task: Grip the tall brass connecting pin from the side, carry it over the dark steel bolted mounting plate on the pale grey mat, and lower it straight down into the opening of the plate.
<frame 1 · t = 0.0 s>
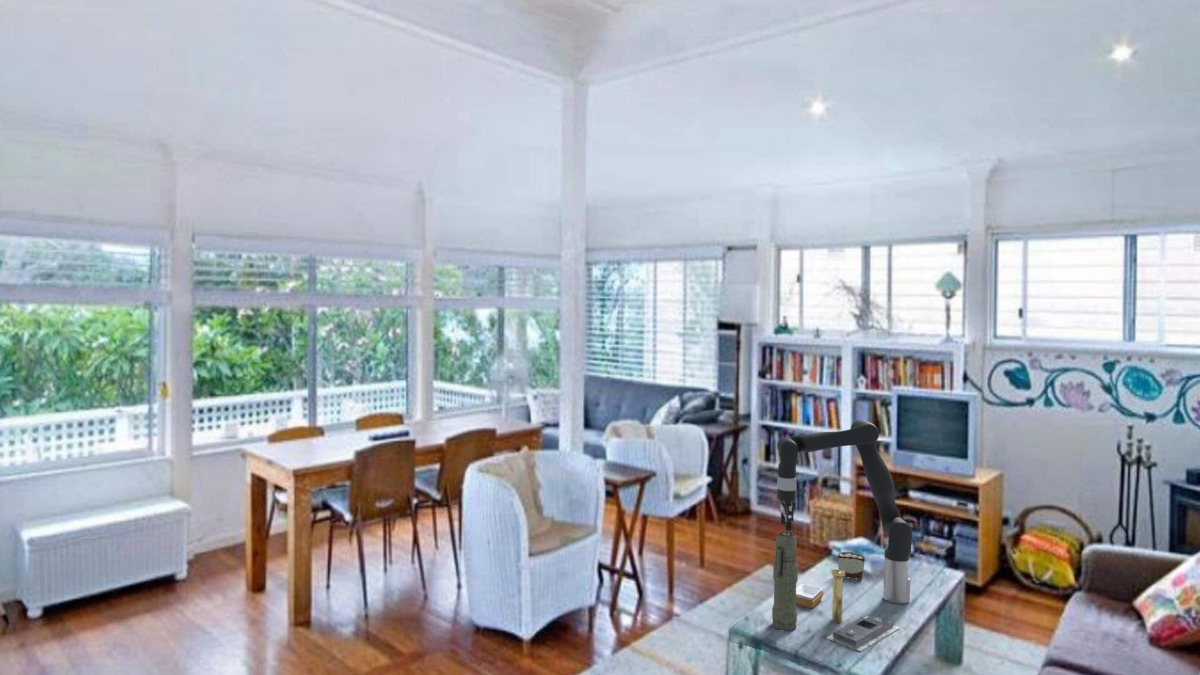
hand: (785, 527, 296), 29 cm above the table, tool pointing down, fingers open, 8 cm apart
food container: (850, 576, 322), on the table
thermos: (784, 626, 272), on the table
soap dish: (806, 603, 294), on the table
brass pin: (837, 621, 277), on the table
bolted mounting plate: (866, 632, 267), on the table
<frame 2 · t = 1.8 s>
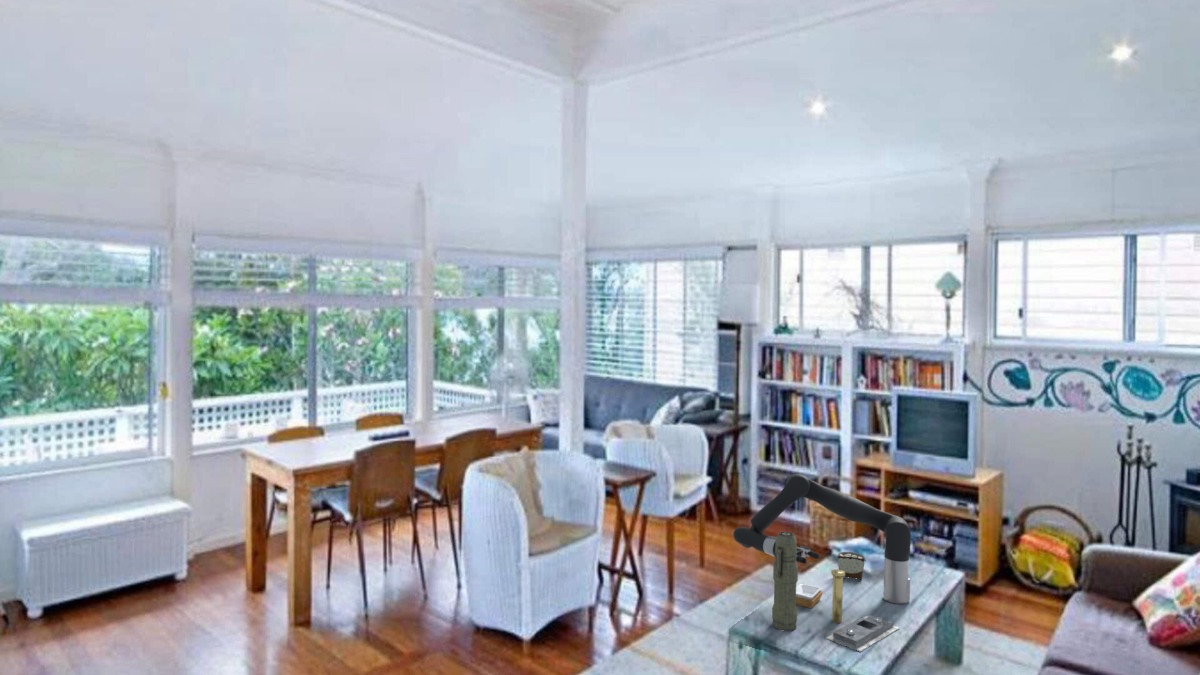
hand: (812, 558, 284), 21 cm above the table, tool horizontal, fingers open, 8 cm apart
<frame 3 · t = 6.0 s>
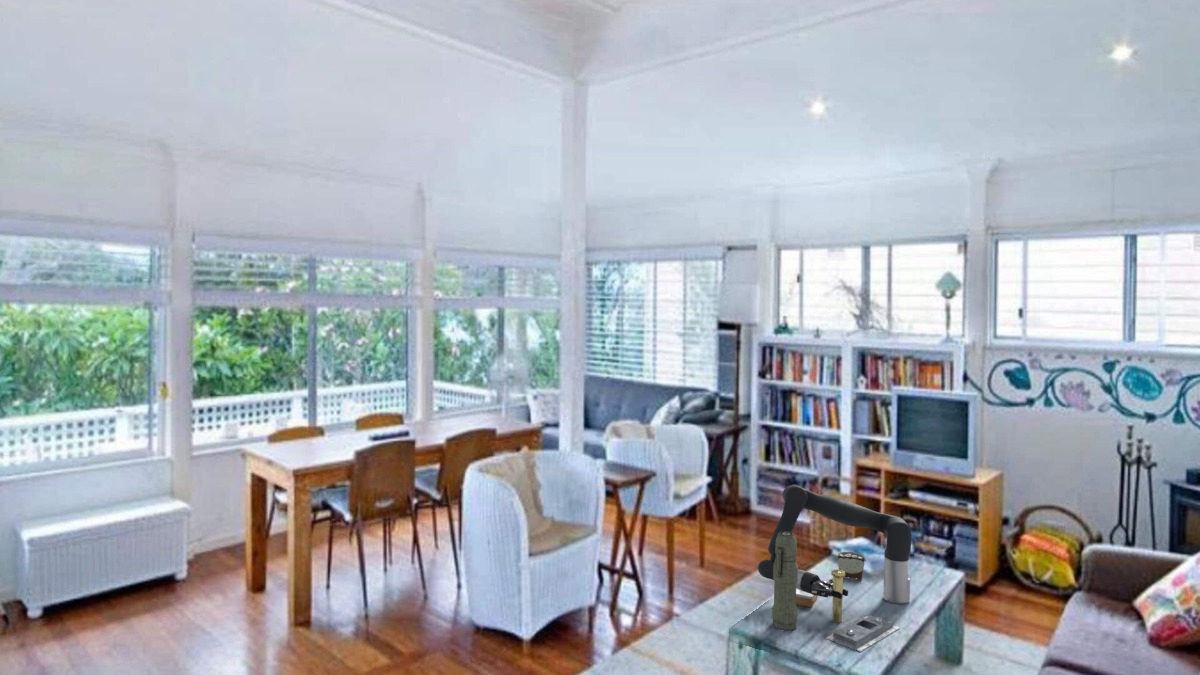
hand: (844, 594, 274), 11 cm above the table, tool horizontal, fingers closed on brass pin, 3 cm apart
brass pin: (837, 621, 277), on the table, touching gripper
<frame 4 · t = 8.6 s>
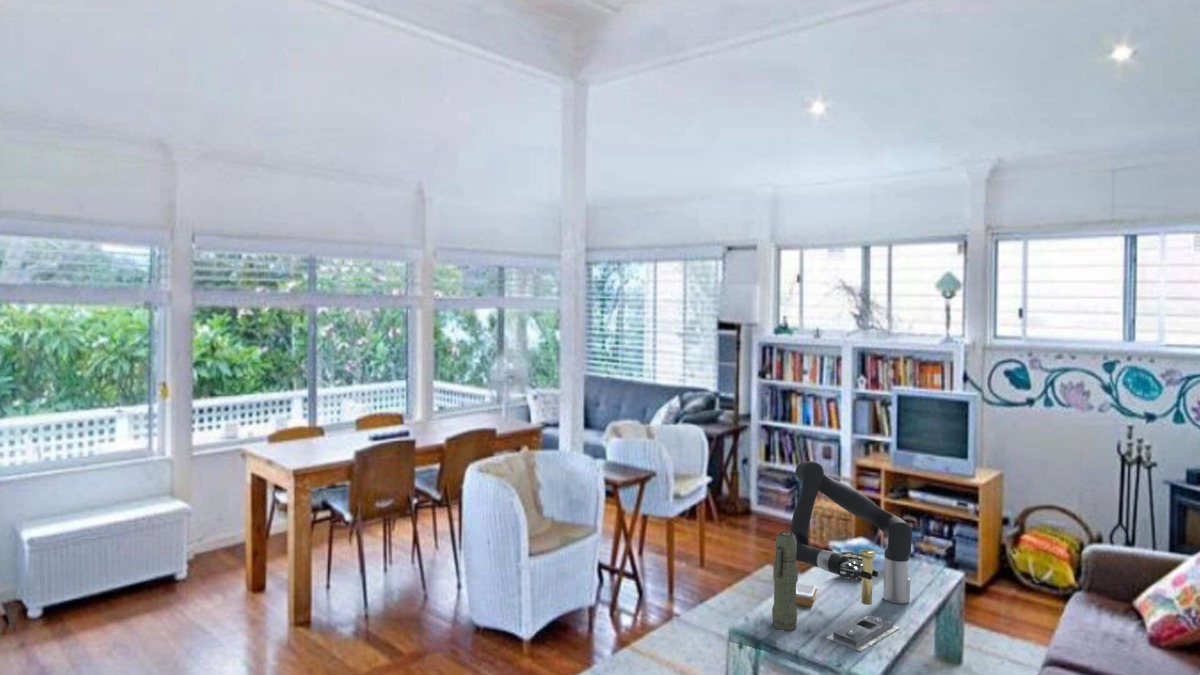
hand: (874, 575, 264), 22 cm above the table, tool horizontal, fingers closed on brass pin, 3 cm apart
brass pin: (866, 602, 267), point 11 cm above the table, touching gripper
when the fingers open (12 cm above the table, at t = 11.2 s): brass pin stays where it is, resting on bolted mounting plate.
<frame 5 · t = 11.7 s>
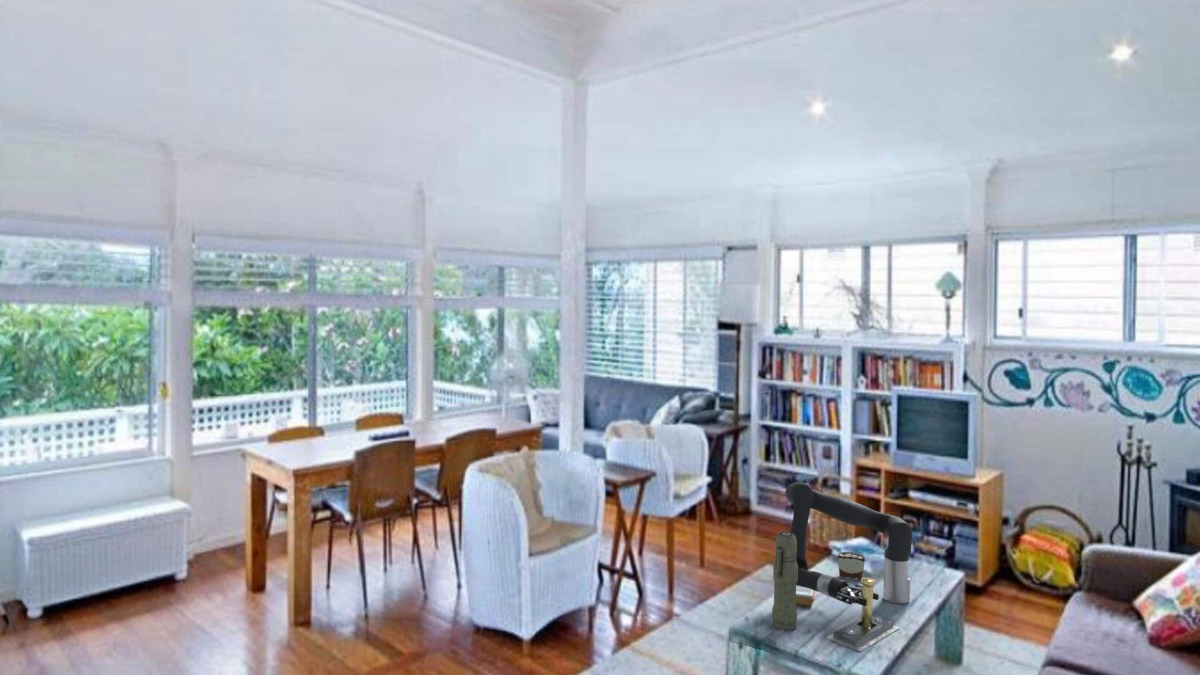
hand: (872, 600, 265), 13 cm above the table, tool horizontal, fingers open, 8 cm apart
brass pin: (866, 630, 268), resting on bolted mounting plate
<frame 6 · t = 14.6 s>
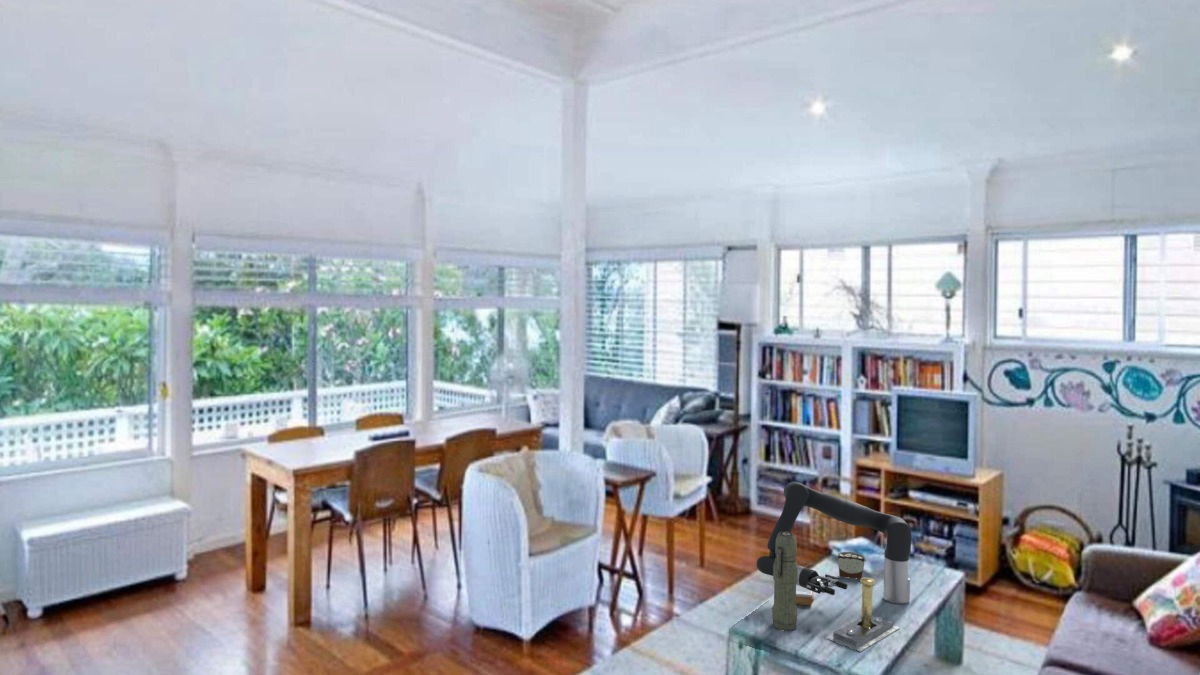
hand: (840, 589, 275), 13 cm above the table, tool horizontal, fingers open, 8 cm apart
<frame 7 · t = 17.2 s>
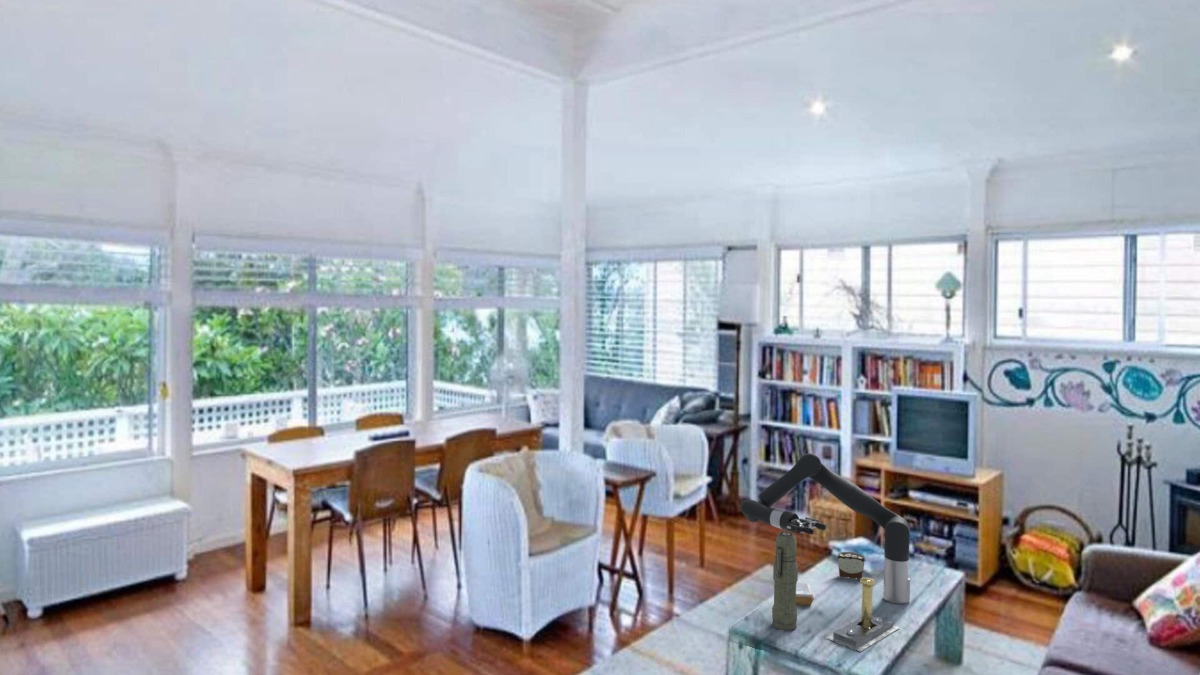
hand: (819, 529, 285), 32 cm above the table, tool horizontal, fingers open, 8 cm apart
at the end: brass pin 0.1 cm off-centre on the bolted mounting plate, point 0.4 cm above the bolted mounting plate's base; brass pin tilted 0°; the gripper is holding nothing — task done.
